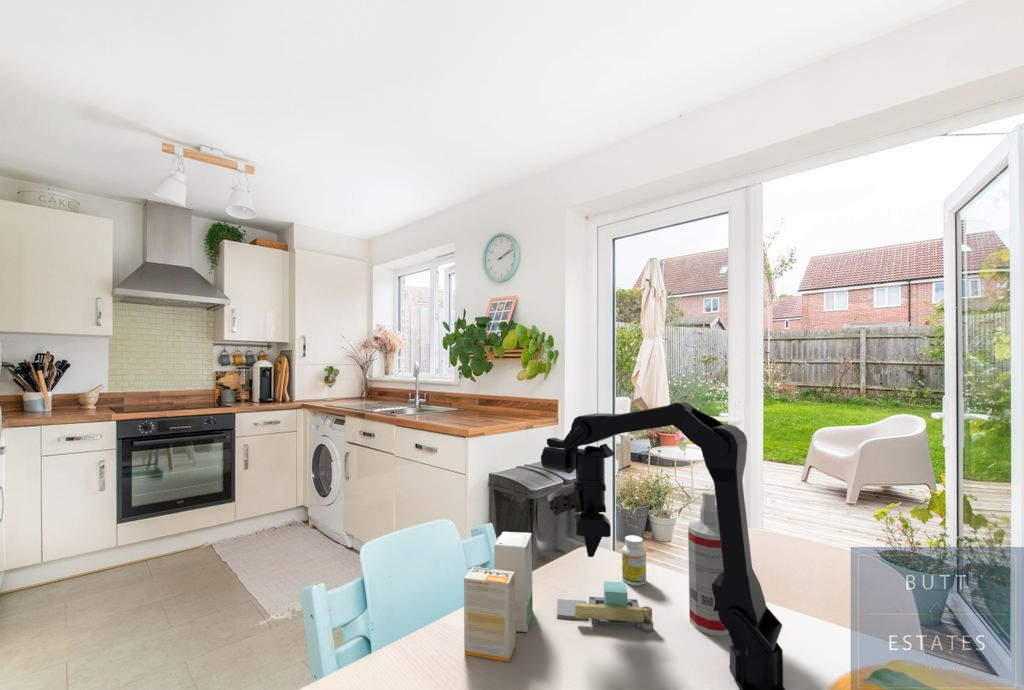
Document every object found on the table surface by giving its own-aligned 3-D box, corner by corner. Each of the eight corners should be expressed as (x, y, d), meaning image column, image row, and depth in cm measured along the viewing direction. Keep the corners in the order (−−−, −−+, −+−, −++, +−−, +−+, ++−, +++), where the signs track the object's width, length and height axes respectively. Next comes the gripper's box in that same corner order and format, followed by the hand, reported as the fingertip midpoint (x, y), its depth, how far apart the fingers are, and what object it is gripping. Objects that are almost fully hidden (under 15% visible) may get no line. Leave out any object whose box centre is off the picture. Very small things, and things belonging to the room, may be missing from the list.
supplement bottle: (645, 588, 100) (645, 544, 101) (620, 584, 102) (620, 541, 102) (646, 577, 105) (646, 535, 106) (623, 573, 107) (623, 532, 107)
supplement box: (516, 646, 79) (516, 570, 80) (508, 663, 75) (509, 583, 75) (472, 638, 81) (473, 565, 82) (462, 655, 77) (463, 577, 77)
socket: (645, 605, 93) (645, 600, 93) (654, 632, 84) (654, 625, 84) (589, 602, 94) (589, 596, 94) (591, 628, 85) (591, 621, 85)
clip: (651, 618, 86) (651, 606, 86) (653, 623, 84) (652, 611, 84) (575, 613, 87) (575, 601, 87) (575, 618, 85) (575, 606, 86)
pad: (586, 603, 93) (586, 600, 93) (588, 619, 87) (588, 616, 88) (557, 601, 94) (557, 599, 94) (557, 617, 88) (557, 614, 88)
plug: (630, 610, 91) (630, 580, 92) (634, 629, 85) (634, 596, 85) (597, 607, 92) (597, 578, 93) (599, 626, 86) (599, 594, 86)
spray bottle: (712, 640, 81) (710, 500, 82) (681, 619, 88) (679, 490, 89) (742, 629, 85) (739, 495, 86) (709, 609, 91) (707, 485, 92)
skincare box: (526, 634, 83) (526, 548, 84) (491, 629, 84) (492, 545, 85) (533, 609, 91) (533, 532, 92) (501, 606, 92) (502, 529, 93)
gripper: (551, 465, 100) (551, 536, 100) (548, 488, 82) (548, 575, 81) (601, 467, 99) (602, 539, 98) (610, 490, 80) (611, 579, 80)
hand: (590, 556), depth 89 cm, fingers closed
